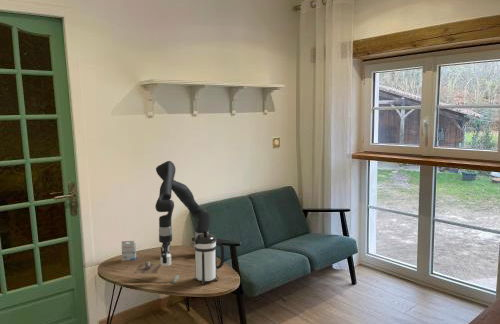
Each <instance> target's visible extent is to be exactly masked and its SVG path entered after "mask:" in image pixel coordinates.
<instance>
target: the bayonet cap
mask: <svg viewBox="0 0 500 324" xmlns="http://www.w3.org/2000/svg"><path fill="white" fill-rule="evenodd" d="M164 255H165V254H164ZM160 264H161V266H160V267H168V266H170V265H172V254H171V253H170V252H169V253H167V263H163V257H161V256H160Z"/></svg>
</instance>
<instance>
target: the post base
mask: <svg viewBox="0 0 500 324" xmlns="http://www.w3.org/2000/svg"><path fill="white" fill-rule="evenodd" d="M144 263H145V264H144ZM144 263H143V264H139V265H138V267H137V268H136V269H135V270H134V272H133V274H157V273H158V271H159V270H160V267H162V266H161V263H156V264H151V261H145V262H144Z"/></svg>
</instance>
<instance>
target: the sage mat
mask: <svg viewBox="0 0 500 324" xmlns="http://www.w3.org/2000/svg"><path fill="white" fill-rule="evenodd" d="M179 277H180V275H179V274H176V275H175V277H174V280H173V281H167V282H165V281H158V282H157V281H155V282H154V283H155V284H176V283H177V282H178V279H179Z"/></svg>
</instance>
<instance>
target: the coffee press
mask: <svg viewBox="0 0 500 324" xmlns="http://www.w3.org/2000/svg"><path fill="white" fill-rule="evenodd" d="M203 233H204V234H200V235H198V236H196V238H194V239H193V240H194V242H193V247H194V260H195V261H194V262H195V263H194V266H195V271H194V272H195V276H194V277H193V280H194V281H196V280H198V281H199V282H200V281H201V286H205V285H206V282H210V281H213V280H215V281H216V282H218V281H219V277H218V274H217V273H218V272H217V270H219V269H221V268H222V267H223V266H224V262H225V248H224V245H223V244H222V243H221V242H217V238H216V236H215V235H214V234H212V233H209V234H208V233H207V231H204V232H203ZM218 246H219V248H220V262H219V264H217V247H218Z"/></svg>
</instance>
